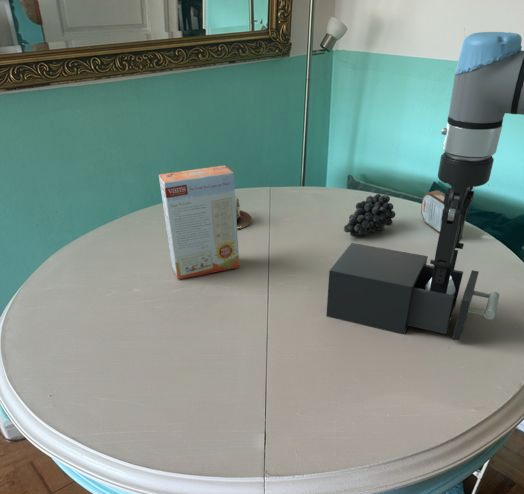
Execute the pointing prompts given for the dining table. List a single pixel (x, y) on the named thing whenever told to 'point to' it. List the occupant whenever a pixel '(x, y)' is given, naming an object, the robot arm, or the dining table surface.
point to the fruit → (370, 215)
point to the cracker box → (200, 220)
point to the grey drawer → (445, 304)
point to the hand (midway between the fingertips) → (439, 290)
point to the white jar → (449, 290)
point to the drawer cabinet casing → (373, 286)
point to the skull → (241, 215)
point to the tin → (433, 209)
